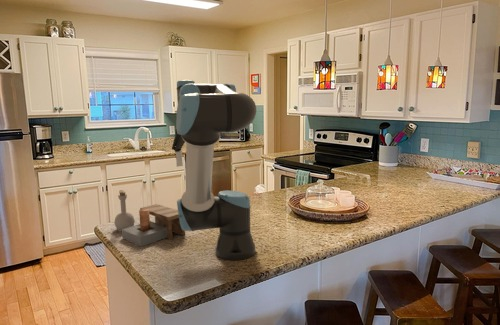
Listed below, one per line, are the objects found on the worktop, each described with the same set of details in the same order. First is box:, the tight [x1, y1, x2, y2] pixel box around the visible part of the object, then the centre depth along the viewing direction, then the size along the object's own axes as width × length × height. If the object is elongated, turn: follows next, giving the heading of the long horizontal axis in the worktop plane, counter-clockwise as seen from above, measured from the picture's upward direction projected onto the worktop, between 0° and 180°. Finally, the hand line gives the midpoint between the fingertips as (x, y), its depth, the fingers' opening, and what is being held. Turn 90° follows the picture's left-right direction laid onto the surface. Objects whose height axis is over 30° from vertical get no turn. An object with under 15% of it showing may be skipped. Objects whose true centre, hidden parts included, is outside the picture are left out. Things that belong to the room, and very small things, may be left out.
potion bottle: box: [114, 189, 136, 232], centre depth 165 cm, size 9×9×18 cm
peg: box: [138, 209, 151, 232], centre depth 155 cm, size 4×4×12 cm
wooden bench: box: [139, 203, 186, 241], centre depth 161 cm, size 21×8×10 cm, turn 49°
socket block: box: [121, 220, 167, 247], centre depth 155 cm, size 14×14×4 cm
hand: (189, 167), depth 157 cm, fingers open, 13 cm apart
